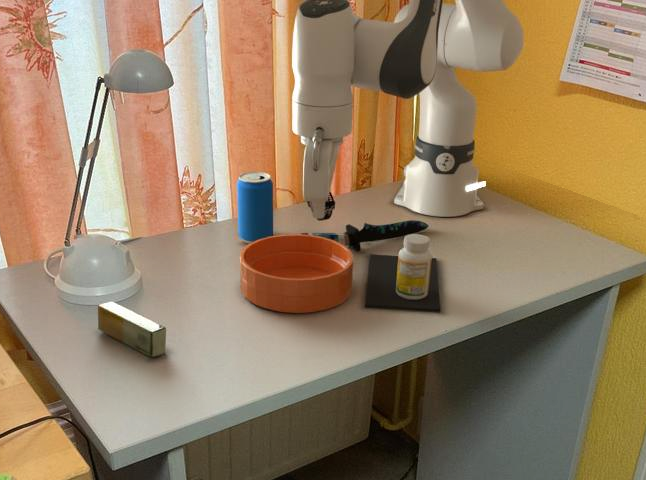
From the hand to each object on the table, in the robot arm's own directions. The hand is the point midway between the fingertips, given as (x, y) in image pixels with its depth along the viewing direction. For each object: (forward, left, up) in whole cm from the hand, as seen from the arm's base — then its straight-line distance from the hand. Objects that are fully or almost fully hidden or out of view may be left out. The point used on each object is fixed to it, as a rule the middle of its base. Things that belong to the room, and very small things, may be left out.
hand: (320, 209), depth 124 cm
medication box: (+21, -25, -14) cm, 35 cm away
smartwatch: (0, 0, -2) cm, 2 cm away
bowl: (0, -4, -14) cm, 14 cm away
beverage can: (-20, -14, -14) cm, 28 cm away
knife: (-20, +7, -14) cm, 25 cm away
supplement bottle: (0, +15, -14) cm, 20 cm away
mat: (-5, +14, -14) cm, 20 cm away
